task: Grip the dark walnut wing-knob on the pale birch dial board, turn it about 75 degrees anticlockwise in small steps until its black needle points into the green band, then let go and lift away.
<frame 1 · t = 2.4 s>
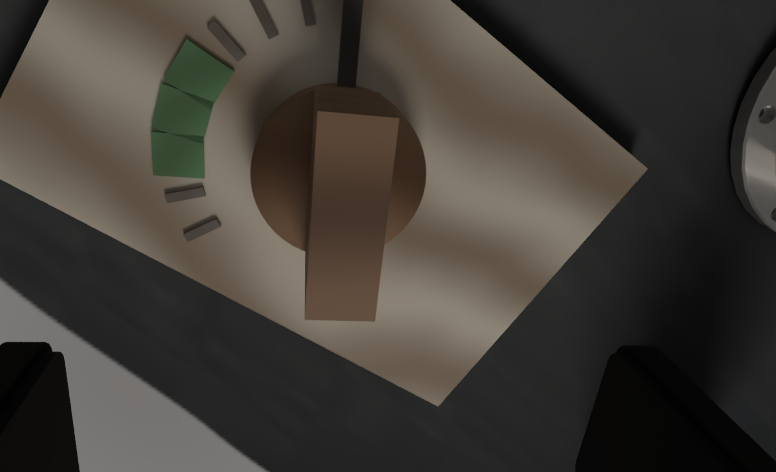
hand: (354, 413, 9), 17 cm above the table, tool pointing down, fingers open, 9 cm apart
dial board: (336, 156, 25), on the table
knob: (346, 146, 20), point 5 cm above the table, hinge at 0.0°
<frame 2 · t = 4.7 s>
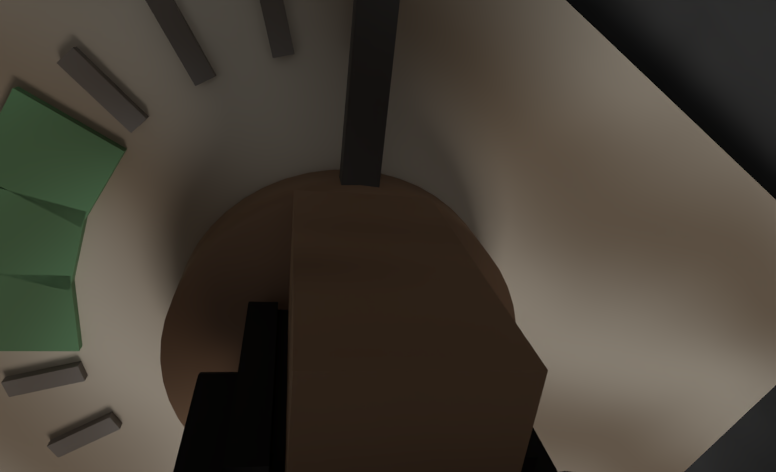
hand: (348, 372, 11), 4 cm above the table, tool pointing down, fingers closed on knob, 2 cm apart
dial board: (335, 283, 14), on the table
knob: (365, 335, 9), point 5 cm above the table, hinge at 0.0°, touching gripper
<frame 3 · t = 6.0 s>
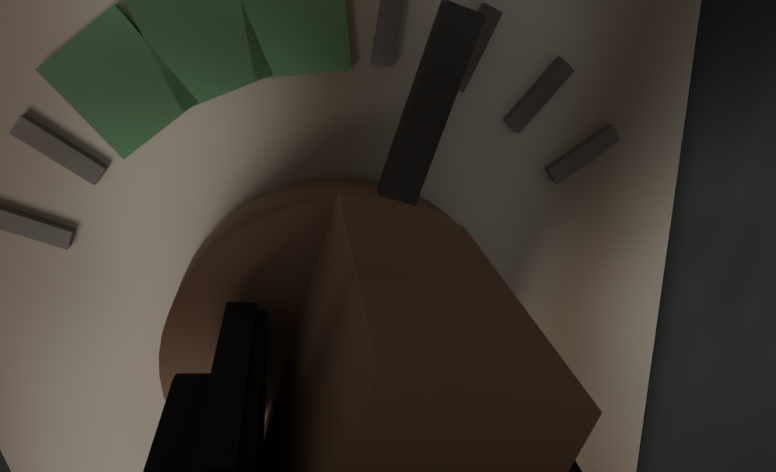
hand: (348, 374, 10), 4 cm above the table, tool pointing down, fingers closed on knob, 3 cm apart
dial board: (334, 289, 14), on the table
knob: (386, 347, 9), point 5 cm above the table, hinge at 36.4°, touching gripper
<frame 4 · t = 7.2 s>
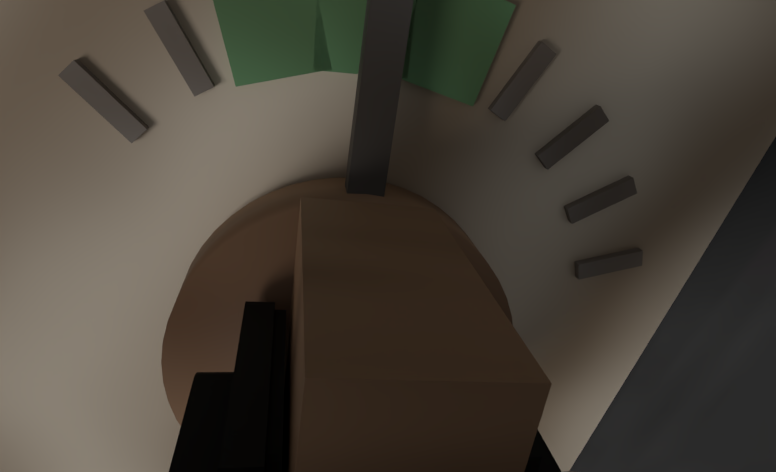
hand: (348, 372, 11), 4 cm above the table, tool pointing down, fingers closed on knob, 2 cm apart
dial board: (335, 288, 14), on the table
knob: (368, 342, 9), point 5 cm above the table, hinge at 72.7°, touching gripper
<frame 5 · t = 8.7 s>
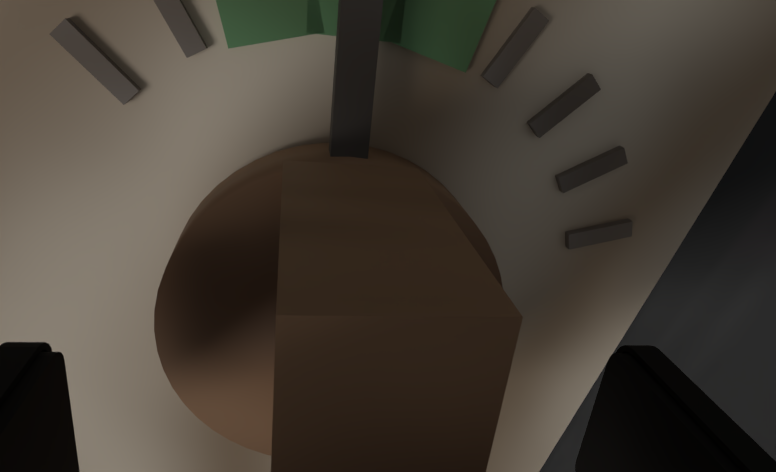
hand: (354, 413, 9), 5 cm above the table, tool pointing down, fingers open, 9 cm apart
dial board: (327, 258, 14), on the table
knob: (354, 300, 9), point 5 cm above the table, hinge at 75.3°
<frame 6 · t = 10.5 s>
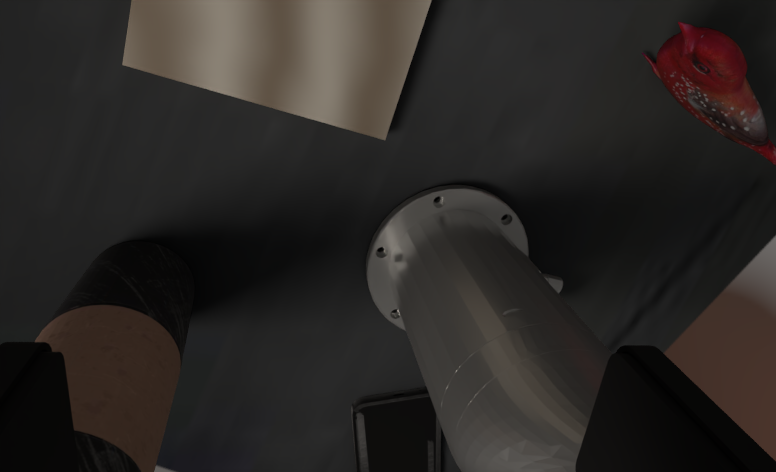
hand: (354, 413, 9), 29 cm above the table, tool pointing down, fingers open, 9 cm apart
travel mug: (143, 284, 39), on the table
phone: (397, 450, 51), on the table
decorative bird figurine: (676, 92, 40), on the table
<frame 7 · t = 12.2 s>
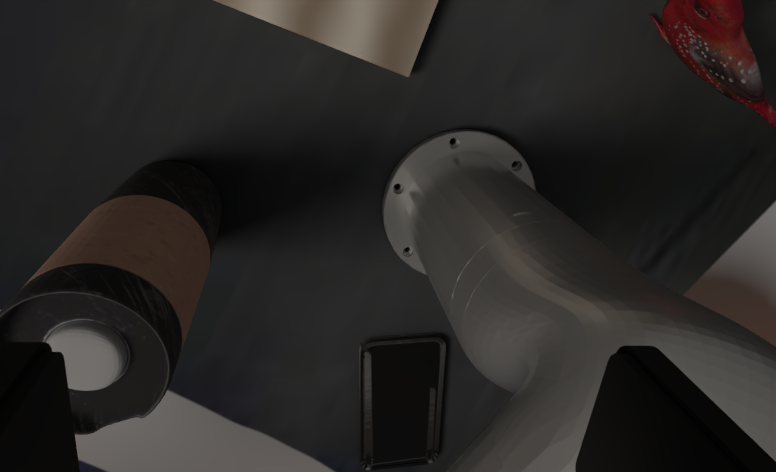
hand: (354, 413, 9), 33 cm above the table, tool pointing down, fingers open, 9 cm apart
travel mug: (174, 204, 41), on the table
phone: (399, 397, 53), on the table
decorative bird figurine: (679, 56, 43), on the table
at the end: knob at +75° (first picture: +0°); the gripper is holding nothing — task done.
